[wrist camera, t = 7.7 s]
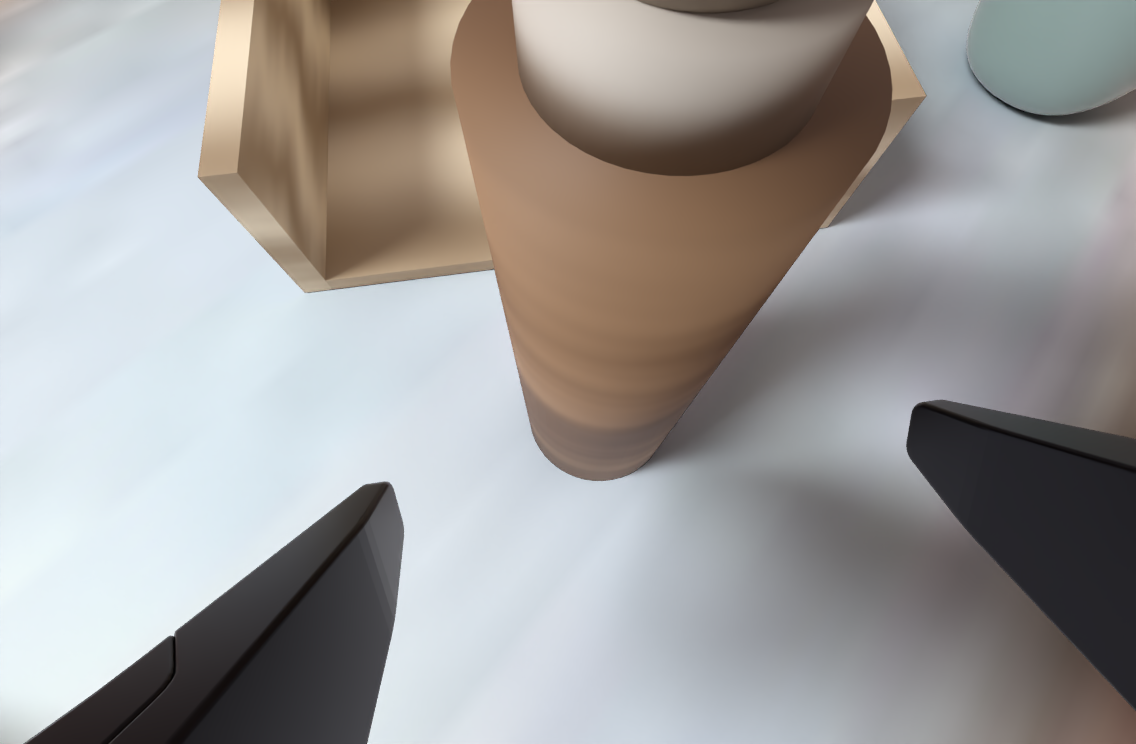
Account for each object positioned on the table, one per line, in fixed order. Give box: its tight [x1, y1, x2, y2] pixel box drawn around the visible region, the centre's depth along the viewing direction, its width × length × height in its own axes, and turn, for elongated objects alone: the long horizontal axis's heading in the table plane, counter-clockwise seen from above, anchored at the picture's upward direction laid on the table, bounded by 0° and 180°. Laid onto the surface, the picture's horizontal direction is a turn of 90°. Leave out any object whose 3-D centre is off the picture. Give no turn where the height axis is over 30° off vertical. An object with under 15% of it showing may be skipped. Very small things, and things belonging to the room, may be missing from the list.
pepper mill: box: [450, 0, 893, 481], centre depth 10 cm, size 5×5×17 cm
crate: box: [198, 0, 926, 293], centre depth 20 cm, size 16×20×6 cm
